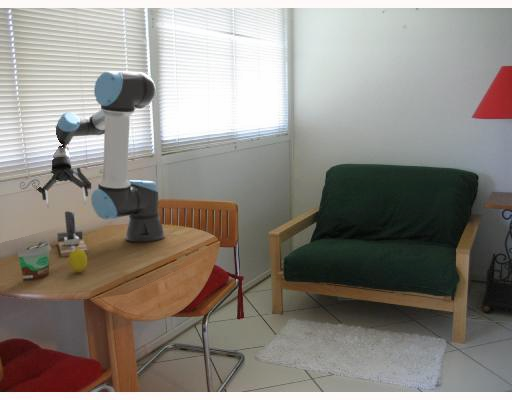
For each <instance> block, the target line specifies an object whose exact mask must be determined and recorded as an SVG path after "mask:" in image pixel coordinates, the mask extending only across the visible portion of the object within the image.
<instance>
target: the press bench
mask: <svg viewBox="0 0 512 400" xmlns="http://www.w3.org/2000/svg"><path fill="white" fill-rule="evenodd" d="M75 231H76V236H78V237H79V242H80V244H75V245H66V246H65V243H64V237H67V232H66V231H61V232H57V233H56V234H57V244H58V245H57V246H58V248H59V253H60V257H62V258H65V257H69V256H70V254H71V252H72V251H74V250H76V248H78V249H80V250H83V251H84V252H85V253H86V255H88V254H89V251H88V247H87V245H86V244H85V241H84V238H83V230H81V229H80V230H75Z"/></svg>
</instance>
